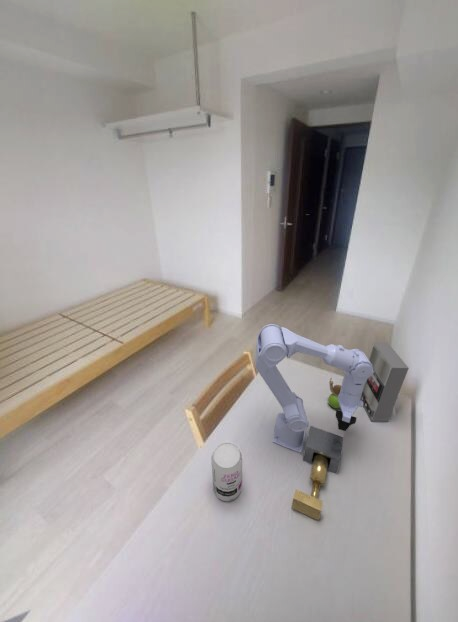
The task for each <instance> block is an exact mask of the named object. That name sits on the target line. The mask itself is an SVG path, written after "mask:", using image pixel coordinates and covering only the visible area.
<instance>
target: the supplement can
mask: <svg viewBox="0 0 458 622" xmlns="http://www.w3.org/2000/svg"><path fill="white" fill-rule="evenodd" d="M210 459H211V460H210V461H211V473H212V486H213V489H212V490H213V491H214V492H213V493H214V495H215V496H216V497H217V499H219V500H221V501H223V502H232V501H234V500H236V499H237V498H238V497H239V496H240V495H241V492H242V489H243V454H242V452H241V451H240V449H239V448H238V446H236V445H235V444H234V443H231V442H223V443H220V444H219V445H217V446H216V447H215V449H214V451H213V452H212V454H211V458H210Z"/></svg>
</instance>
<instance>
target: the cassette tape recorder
mask: <svg viewBox="0 0 458 622" xmlns="http://www.w3.org/2000/svg"><path fill="white" fill-rule="evenodd" d="M367 358H368V359H369V361H370V362H371V364H372V366H373V371H374V373H373V375H372V376H370V377H369V378H368V379H367V381H366V382H365V385H364V389H363V392H362V395H361V398H360V400H361V401H363V408H364V411H365V412H366V414H367V416H368V418H369V420H370V422H372V423H373V422H374V423H375V422H378V423H379V422H380V423H388V422H389V420H390V416H391V413H392V411H393V408H394V407H395V404H396V401H397V399H398V396H399V394H400V391H401V389H402V386H403V383H404V381H405V380H406V379H405V378H406V376H407V374H408V371H409V368H410V367H409V366H408V365H407V364H406V363H405V362H404V360H403V359H402V358H401V357H400V355H399V354H398V353H397V352H396V351H395V350H394V348H393V347H392V346H391V344H390V343H389V342H372V346H371V349H370V352H369V356H368V357H367Z"/></svg>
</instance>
